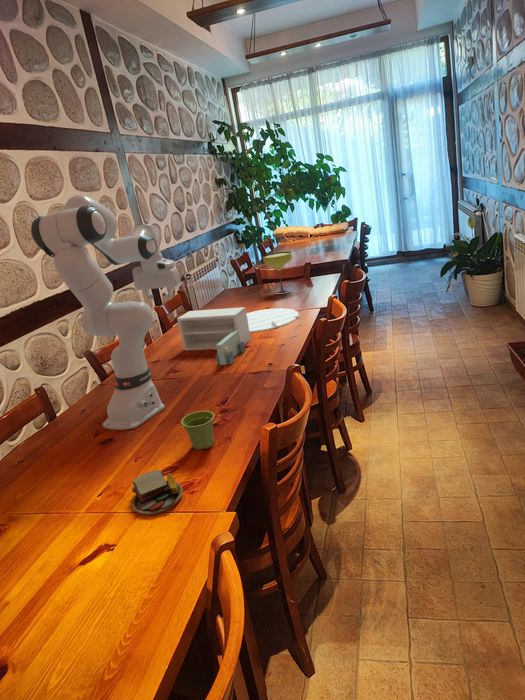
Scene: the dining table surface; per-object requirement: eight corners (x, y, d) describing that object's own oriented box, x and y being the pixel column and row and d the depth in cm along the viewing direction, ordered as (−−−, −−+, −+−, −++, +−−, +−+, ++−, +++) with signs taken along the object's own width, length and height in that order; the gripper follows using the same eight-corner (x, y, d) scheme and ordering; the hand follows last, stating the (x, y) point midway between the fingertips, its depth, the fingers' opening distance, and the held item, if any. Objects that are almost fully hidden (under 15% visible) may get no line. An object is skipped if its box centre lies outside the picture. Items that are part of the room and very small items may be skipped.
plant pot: (204, 433, 143) (198, 408, 140) (226, 440, 137) (220, 413, 134) (181, 449, 136) (174, 422, 133) (203, 456, 130) (197, 429, 127)
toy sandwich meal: (135, 524, 107) (130, 507, 106) (129, 493, 119) (124, 478, 118) (188, 505, 111) (184, 488, 109) (177, 476, 123) (173, 461, 122)
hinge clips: (230, 364, 195) (228, 355, 194) (217, 365, 197) (215, 355, 196) (245, 350, 209) (243, 341, 208) (232, 351, 211) (230, 342, 210)
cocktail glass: (283, 288, 318) (278, 251, 310) (302, 290, 304) (296, 251, 296) (263, 295, 308) (257, 257, 300) (281, 297, 294) (275, 257, 286)
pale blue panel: (227, 364, 194) (223, 344, 191) (220, 365, 196) (216, 344, 193) (244, 349, 210) (240, 330, 207) (236, 349, 211) (233, 330, 208)
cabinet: (241, 348, 213) (235, 314, 207) (184, 350, 224) (177, 318, 219) (250, 339, 223) (245, 307, 218) (196, 341, 234) (189, 311, 229)
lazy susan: (312, 319, 239) (311, 313, 238) (241, 339, 227) (239, 332, 226) (280, 306, 275) (279, 300, 274) (217, 322, 263) (216, 317, 262)
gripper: (126, 269, 188) (135, 302, 193) (170, 264, 180) (178, 298, 185) (135, 265, 193) (144, 298, 198) (178, 260, 186) (185, 294, 190)
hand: (160, 298), depth 191 cm, fingers open, 8 cm apart
